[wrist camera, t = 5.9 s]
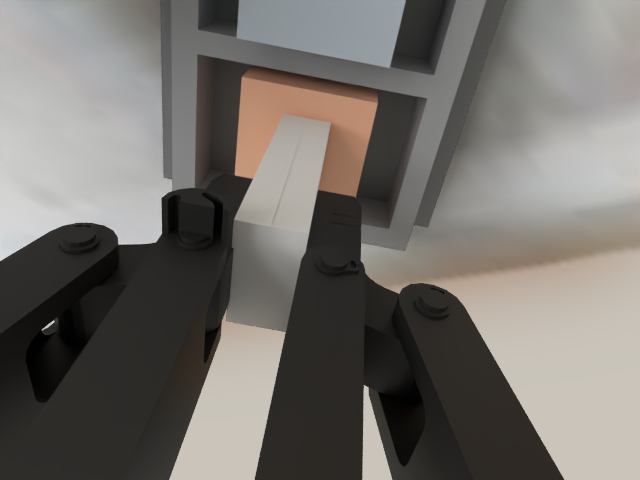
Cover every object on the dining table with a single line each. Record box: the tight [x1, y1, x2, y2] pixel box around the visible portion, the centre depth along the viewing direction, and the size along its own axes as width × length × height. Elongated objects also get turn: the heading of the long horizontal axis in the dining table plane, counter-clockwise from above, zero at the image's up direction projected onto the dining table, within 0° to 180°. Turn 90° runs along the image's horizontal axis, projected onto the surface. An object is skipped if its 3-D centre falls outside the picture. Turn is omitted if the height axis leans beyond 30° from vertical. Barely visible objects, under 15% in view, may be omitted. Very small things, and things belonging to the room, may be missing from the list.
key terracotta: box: [235, 65, 378, 198], centre depth 16 cm, size 4×4×2 cm
